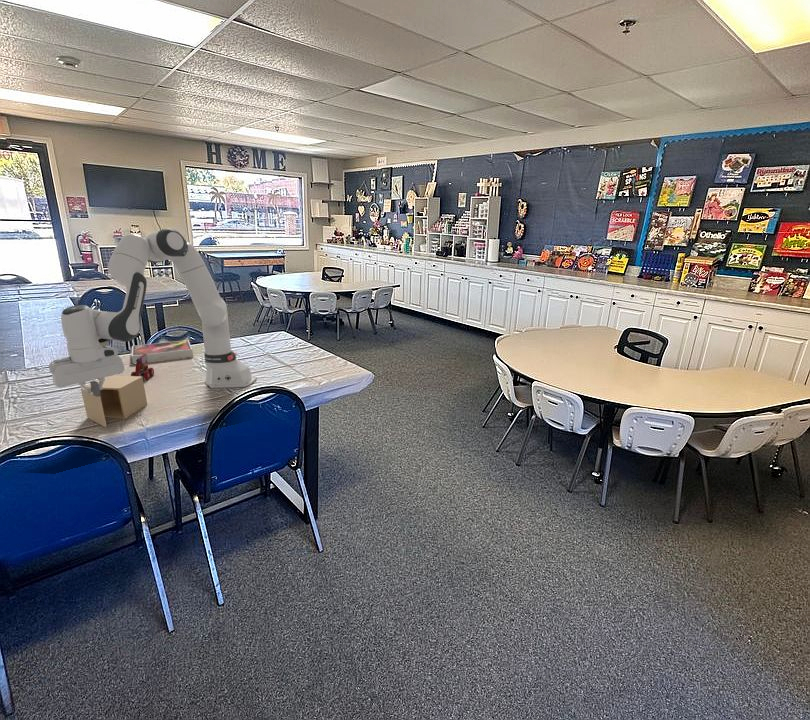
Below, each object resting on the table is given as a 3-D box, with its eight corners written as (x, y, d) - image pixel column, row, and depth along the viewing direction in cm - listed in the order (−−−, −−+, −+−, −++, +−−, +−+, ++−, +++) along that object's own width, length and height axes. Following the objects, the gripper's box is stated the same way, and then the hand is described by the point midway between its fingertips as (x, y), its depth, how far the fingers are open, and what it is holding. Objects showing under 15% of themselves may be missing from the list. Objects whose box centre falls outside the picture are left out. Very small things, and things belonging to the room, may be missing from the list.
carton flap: (107, 426, 151) (98, 382, 146) (104, 427, 150) (94, 383, 145) (90, 416, 159) (80, 374, 154) (86, 417, 158) (76, 375, 153)
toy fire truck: (129, 383, 193) (125, 361, 190) (140, 374, 204) (136, 353, 201) (146, 382, 194) (142, 360, 191) (156, 373, 206) (152, 352, 203)
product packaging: (133, 354, 235) (131, 346, 234) (189, 348, 249) (188, 340, 248) (133, 365, 217) (131, 356, 216) (193, 357, 231) (192, 349, 230)
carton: (147, 404, 171) (142, 376, 167) (125, 418, 158) (119, 388, 155) (114, 403, 171) (108, 375, 168) (89, 416, 159) (82, 387, 155)
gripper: (50, 363, 134) (60, 403, 138) (122, 349, 149) (129, 385, 154) (44, 359, 137) (54, 398, 142) (115, 345, 153) (122, 381, 157)
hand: (94, 391), depth 148 cm, fingers open, 2 cm apart
